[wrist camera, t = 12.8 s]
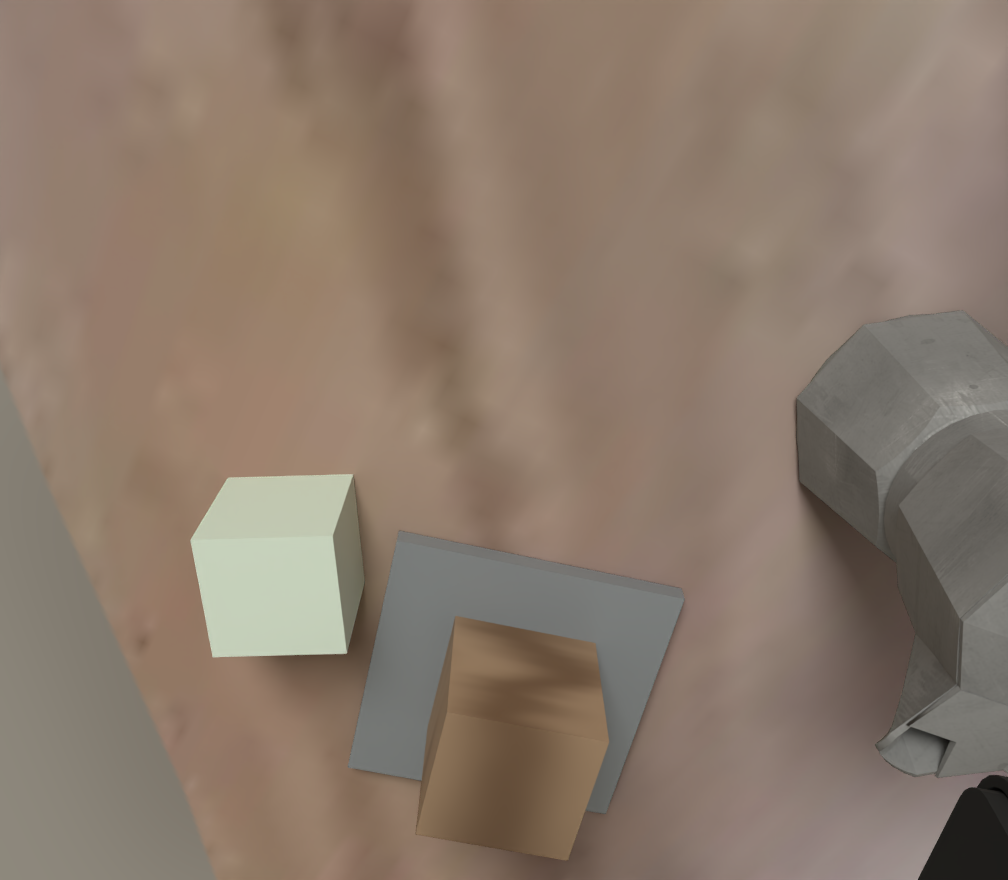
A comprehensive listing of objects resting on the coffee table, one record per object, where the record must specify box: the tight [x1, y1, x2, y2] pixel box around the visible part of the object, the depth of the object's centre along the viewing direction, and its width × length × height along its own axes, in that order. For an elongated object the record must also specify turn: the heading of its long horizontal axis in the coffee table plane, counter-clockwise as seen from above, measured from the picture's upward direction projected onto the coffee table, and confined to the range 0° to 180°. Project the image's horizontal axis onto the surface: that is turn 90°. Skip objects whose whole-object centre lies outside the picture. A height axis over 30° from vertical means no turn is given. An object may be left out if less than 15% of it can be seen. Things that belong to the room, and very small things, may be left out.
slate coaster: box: [348, 531, 685, 814], centre depth 42 cm, size 12×12×1 cm
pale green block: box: [191, 474, 365, 657], centre depth 37 cm, size 5×5×5 cm
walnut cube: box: [416, 616, 609, 861], centre depth 38 cm, size 6×6×6 cm
